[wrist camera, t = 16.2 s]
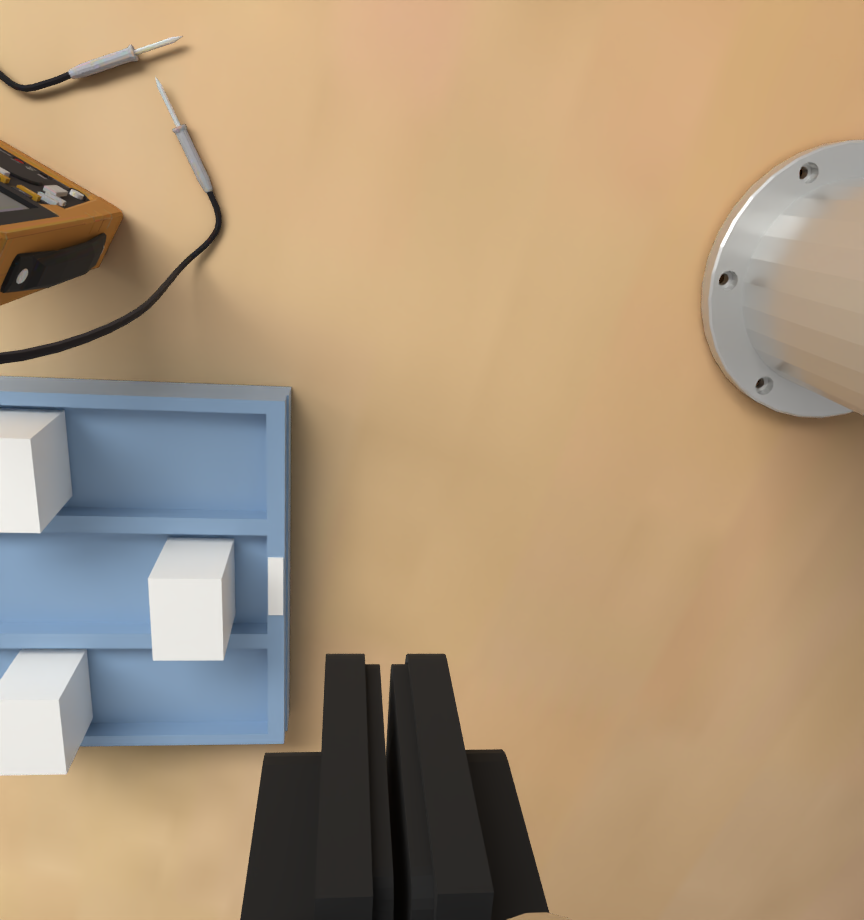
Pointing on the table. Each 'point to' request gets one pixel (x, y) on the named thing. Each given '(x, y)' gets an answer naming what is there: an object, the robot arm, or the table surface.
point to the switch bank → (140, 543)
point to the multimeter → (69, 217)
